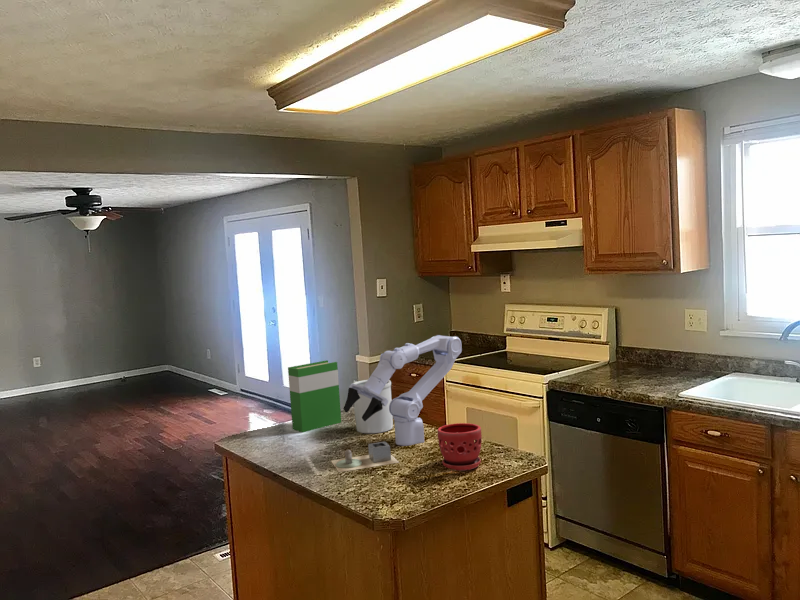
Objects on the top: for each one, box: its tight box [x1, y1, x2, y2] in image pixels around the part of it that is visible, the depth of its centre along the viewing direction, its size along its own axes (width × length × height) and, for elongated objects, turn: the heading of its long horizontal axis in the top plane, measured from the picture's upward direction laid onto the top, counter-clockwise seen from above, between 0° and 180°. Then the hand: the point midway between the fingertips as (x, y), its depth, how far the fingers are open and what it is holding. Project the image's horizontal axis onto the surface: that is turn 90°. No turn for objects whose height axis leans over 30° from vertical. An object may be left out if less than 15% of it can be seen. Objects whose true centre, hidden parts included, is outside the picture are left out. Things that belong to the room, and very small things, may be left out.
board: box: [330, 446, 400, 473], centre depth 207 cm, size 19×12×6 cm, turn 108°
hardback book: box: [287, 359, 342, 433], centre depth 257 cm, size 18×7×24 cm, turn 129°
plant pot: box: [437, 422, 483, 472], centre depth 200 cm, size 13×13×12 cm
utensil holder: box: [352, 379, 394, 434], centre depth 248 cm, size 15×15×18 cm
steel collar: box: [367, 441, 392, 463], centre depth 209 cm, size 6×6×4 cm
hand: (354, 415), depth 211 cm, fingers open, 7 cm apart
